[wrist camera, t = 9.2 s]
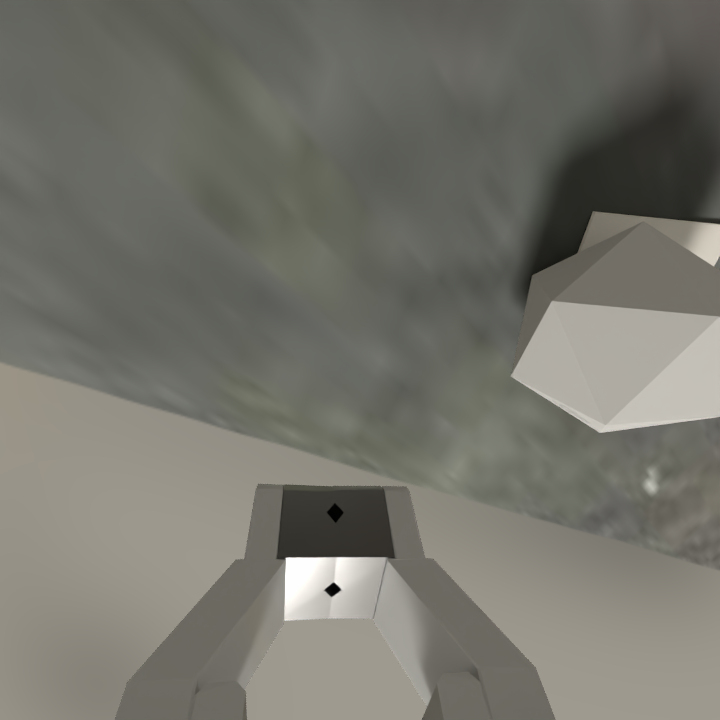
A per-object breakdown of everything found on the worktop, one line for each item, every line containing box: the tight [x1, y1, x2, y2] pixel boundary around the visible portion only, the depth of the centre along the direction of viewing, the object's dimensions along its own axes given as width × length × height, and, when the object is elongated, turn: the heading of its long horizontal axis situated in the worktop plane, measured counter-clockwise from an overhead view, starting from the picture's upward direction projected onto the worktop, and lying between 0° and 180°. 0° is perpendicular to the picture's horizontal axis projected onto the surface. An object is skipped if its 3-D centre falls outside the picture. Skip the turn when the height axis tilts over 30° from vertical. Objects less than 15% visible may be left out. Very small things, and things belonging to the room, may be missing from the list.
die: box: [511, 221, 720, 433], centre depth 19 cm, size 8×9×10 cm
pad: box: [578, 211, 720, 266], centre depth 22 cm, size 8×8×1 cm
